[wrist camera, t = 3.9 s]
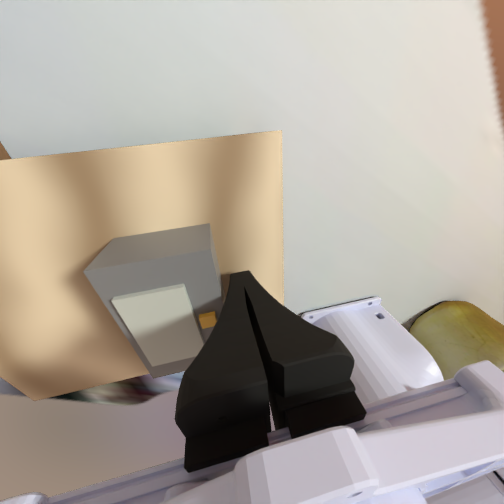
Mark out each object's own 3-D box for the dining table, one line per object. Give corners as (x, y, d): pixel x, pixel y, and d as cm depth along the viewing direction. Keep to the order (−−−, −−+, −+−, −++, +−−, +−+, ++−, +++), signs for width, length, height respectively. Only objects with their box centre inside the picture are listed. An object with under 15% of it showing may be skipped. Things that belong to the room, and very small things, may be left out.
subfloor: (262, 112, 12) (281, 104, 9) (273, 318, 21) (284, 347, 18) (-146, 151, 9) (-308, 157, 6) (68, 364, 19) (42, 406, 16)
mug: (499, 281, 23) (608, 385, 17) (462, 309, 30) (527, 386, 24) (385, 311, 25) (443, 410, 19) (378, 330, 33) (417, 404, 27)
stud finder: (209, 223, 11) (211, 252, 8) (230, 321, 15) (236, 362, 12) (113, 238, 10) (79, 275, 8) (162, 336, 14) (152, 382, 12)
